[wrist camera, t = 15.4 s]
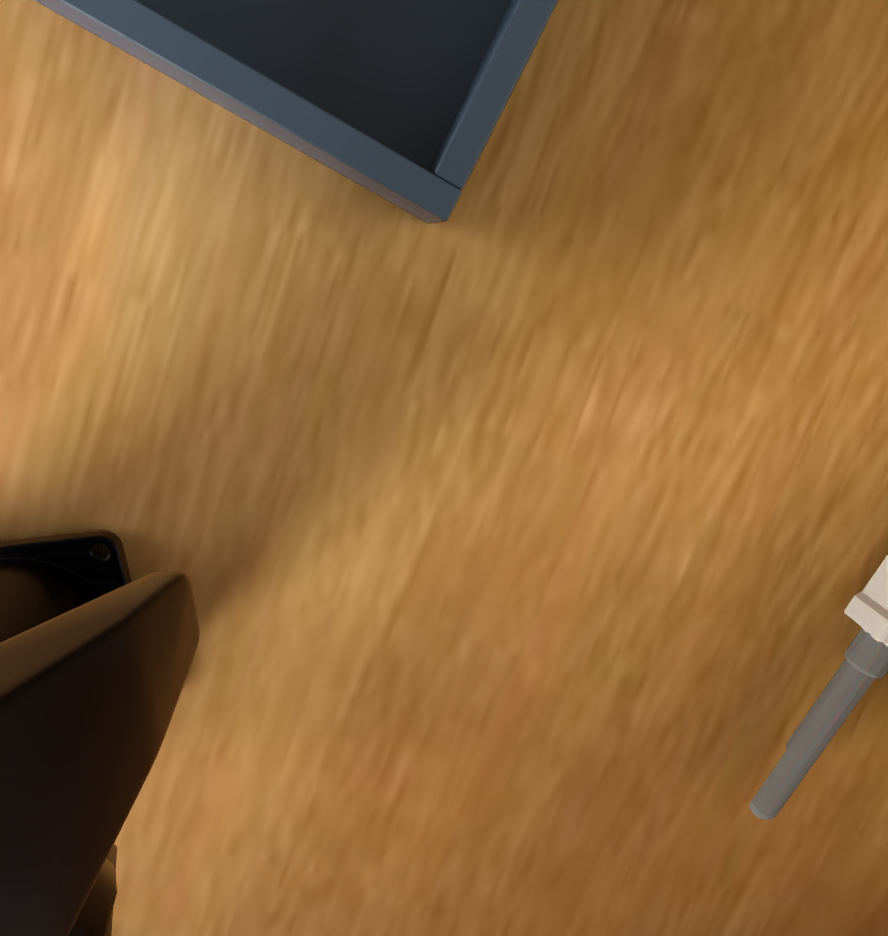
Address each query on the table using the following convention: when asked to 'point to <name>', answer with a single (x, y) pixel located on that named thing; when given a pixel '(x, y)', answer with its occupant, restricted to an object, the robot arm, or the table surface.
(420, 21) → the tote
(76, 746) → the robot arm
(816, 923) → the table surface
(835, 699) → the walkie-talkie
